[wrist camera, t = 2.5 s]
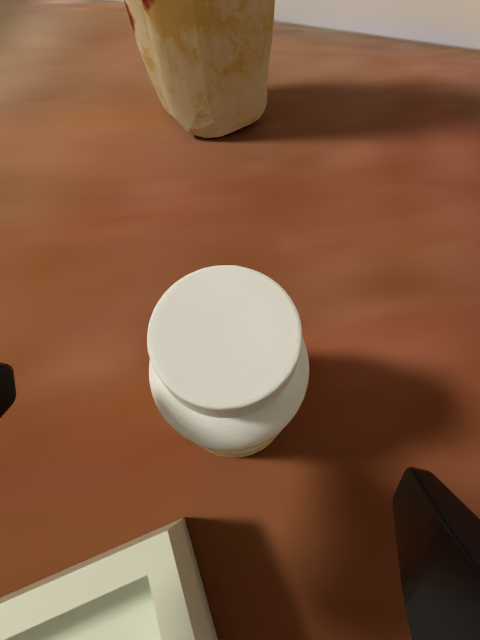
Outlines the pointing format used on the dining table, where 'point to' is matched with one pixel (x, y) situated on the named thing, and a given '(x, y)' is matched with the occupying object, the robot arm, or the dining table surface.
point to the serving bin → (117, 595)
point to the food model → (206, 59)
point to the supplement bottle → (227, 359)
